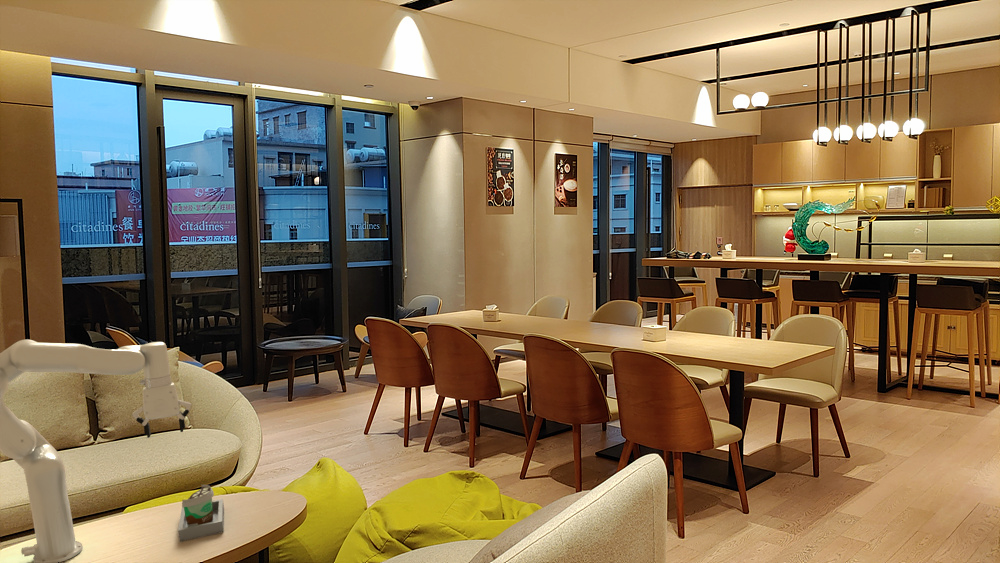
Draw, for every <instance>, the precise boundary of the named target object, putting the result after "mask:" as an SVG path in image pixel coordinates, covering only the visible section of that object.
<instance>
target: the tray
mask: <svg viewBox="0 0 1000 563" xmlns="http://www.w3.org/2000/svg"><path fill="white" fill-rule="evenodd" d="M212 509H213V521H212V522H209V523H205V524H200V525H195V526H190V527H188V525H187V521H186V516H185V511H184V507H182V506H181V511H180V517H179V524H178V528H177V532H178V534H177V535H178V538H179V539H178V540H179V543H180V542H184V541H188V540H194V539H198V538H203V537H206V536H212V535H216V534H222V533H224V531H225V530H224V528H225V527H224V526H225V525H224V524H225V523H224V522H225V521H224V520H225V506H224V499H223V498H220V499H215V500H212Z"/></svg>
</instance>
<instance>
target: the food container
mask: <svg viewBox="0 0 1000 563" xmlns="http://www.w3.org/2000/svg"><path fill="white" fill-rule="evenodd" d="M214 496H215V493H214V490H213V488H212V487H211V486H210V485H208V484H201V488H200V489H198V490H197V491H196V492H194V493H192V494H191V495H190V496H189V497H188V498H187V499H182V502H181V508H182V507H184V511H185V516H186V521H187V525H188V527H190V526H195V525H200V524H205V523H209V522H212V521H213V509H212V501H213V497H214Z"/></svg>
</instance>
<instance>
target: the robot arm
mask: <svg viewBox="0 0 1000 563" xmlns="http://www.w3.org/2000/svg"><path fill="white" fill-rule="evenodd" d="M141 371H143V379H141V380H139V385H143V386H145V387H143V389H142V404H143V405H141V407H138V408H137V409H136V410H134V411H133V412H132V413H131V416H132V417H133V419H135V420H136V422H137V423H139V424H141V425H142V426H143V431H144V435H146V438H147V439H149V438H151V436H152V432H151V426H150V425H151V424H150V423H149V421H151V420H157V419H164V418H169V417H170V418H171V417H174V416H176V417H178V418H179V419H178V424H179V431H180V433H183V432H184V429H186V423H185V422H186V421H185V418H186V417H187V416H188V414H189V413H190V410H191V407H192V402H189V401H185V400H182V399H179V396H178V392H177V388H176V385H175V383H174V382H172V376H171V368H170V361H169V354H168V348H167V345H166V343H165V342H163V341H153V342H149V343H145V344H139V345H137V344H136V345H124V346H120V347H118V348H116V349H105V348H99V347H98V348H97V347H94V346H93V347H92V346H89V345H86V344H83V343H82V344H81V343H70V342H69V343H68V342H67V343H61V342H59V343H58V342H38V341H36V340H32V339H28V338H27V339H20V340H18V341H17V342H15V343H13V344H12V345H10V346H9V347H8V348H6V349H4V350H2V352H0V453H1V454H2V455H4V456H5V457H7V458H8V459H9V458H10V459H12V460H13V461H14V462H15V463H16V464H18V466H20V467H21V468H22V469H23V472H24V475H25V480H26V486H27V487H26V488H27V491H28V492H27V493H28V494H27V495H28V498H29V506H30V510H31V515H32V522H33V529H34V534H35V539H36V544H33V545H32V546H25V547H22V548H21V551H20V552H21V556H22V555H24V557H30V556H33V557H32V560H33V563H34V562H35V563H58V562H59V563H62V562H65V561H68V560H70V559H72V558H74V557H76V556H77V555H78V554H80V553H81V552H82V550H83V543H82V542H81V541H77V540H76V535H75V530H74V523H73V518H72V517H73V516H72V511H71V505H70V499H69V495H68V494H69V493H68V486H67V480H66V469H65V465H64V461H63V459H62V458H61V456H60V454H59V452H58V450H57V449H55V447H54V446H53V445H52V444H51V443H50V442H49V441H48V440H47V439H46V438H45V437H44V436H43V435H42V434H41V433H40V432H39V431H38V430H37V429H36V428H35V427H34V426H33V425H32V424H31V423H29V422H28V421H26V420H25V419H19V418H18V417H17V416H16V414H15V413H14V412H13V411H12V410H11V409H10V408H9V407H8V406H7V405H6V404H5V402H4V396H5V394H6V393H7V391H8V388H9V384H10V383H11V382H12V381H14V380H15V379H17V378H18V377H20V376H21V375H23V374H24V373H26V372H27V373H74V374H75V373H77V374H89V375H90V374H93V375H104V376H105V375H107V376H109V375H111V376H113V375H114V376H118V375H119V376H130V375H136V374H138V373H140V372H141ZM180 406H183V407H185V410H184V411H183V412H182V411H181V410H180V409H181V407H180ZM142 412H143V414H144V418H143V417H141V416H140V415H139V414H141V413H142Z"/></svg>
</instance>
